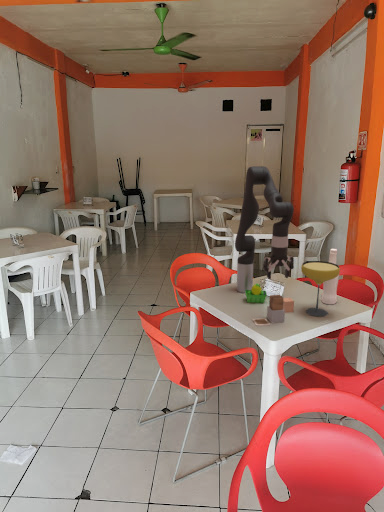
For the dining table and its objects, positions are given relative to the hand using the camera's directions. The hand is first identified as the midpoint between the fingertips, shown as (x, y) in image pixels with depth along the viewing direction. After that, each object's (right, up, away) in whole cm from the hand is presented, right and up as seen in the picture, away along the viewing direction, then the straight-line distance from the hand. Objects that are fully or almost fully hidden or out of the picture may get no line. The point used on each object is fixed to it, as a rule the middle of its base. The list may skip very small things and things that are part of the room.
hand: (277, 278), depth 185 cm
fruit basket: (-6, -15, +29) cm, 33 cm away
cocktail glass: (+23, -19, +14) cm, 33 cm away
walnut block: (0, -15, +4) cm, 16 cm away
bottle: (+34, -15, +27) cm, 46 cm away
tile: (-8, -22, +2) cm, 23 cm away
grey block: (0, -21, +6) cm, 22 cm away
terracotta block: (+8, -18, +17) cm, 26 cm away
